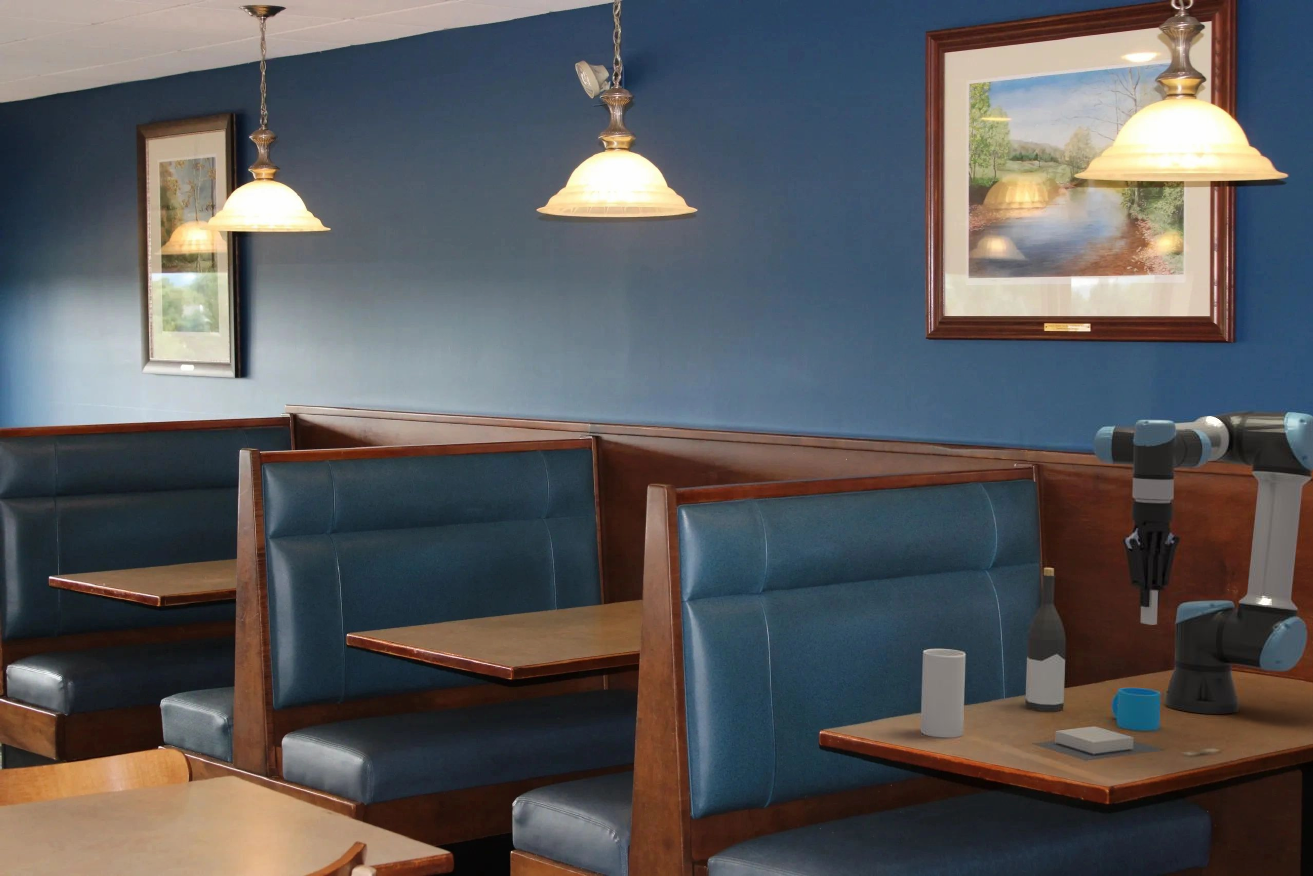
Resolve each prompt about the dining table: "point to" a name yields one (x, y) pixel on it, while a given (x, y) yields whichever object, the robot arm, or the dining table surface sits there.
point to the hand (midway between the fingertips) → (1148, 623)
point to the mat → (1136, 749)
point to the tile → (1094, 740)
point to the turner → (1201, 752)
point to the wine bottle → (1046, 654)
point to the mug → (1137, 708)
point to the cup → (943, 693)
